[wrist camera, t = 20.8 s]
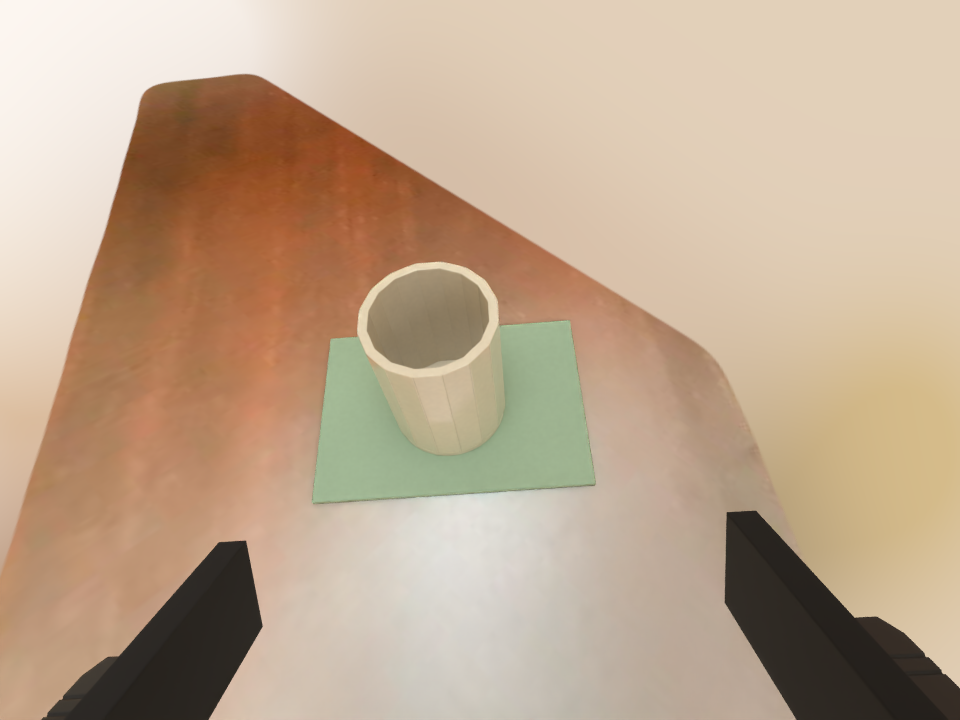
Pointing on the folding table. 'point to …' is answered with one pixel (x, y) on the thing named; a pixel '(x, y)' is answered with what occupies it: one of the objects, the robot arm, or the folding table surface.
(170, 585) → the folding table surface
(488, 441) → the place mat
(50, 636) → the folding table surface
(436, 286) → the cup
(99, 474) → the folding table surface
